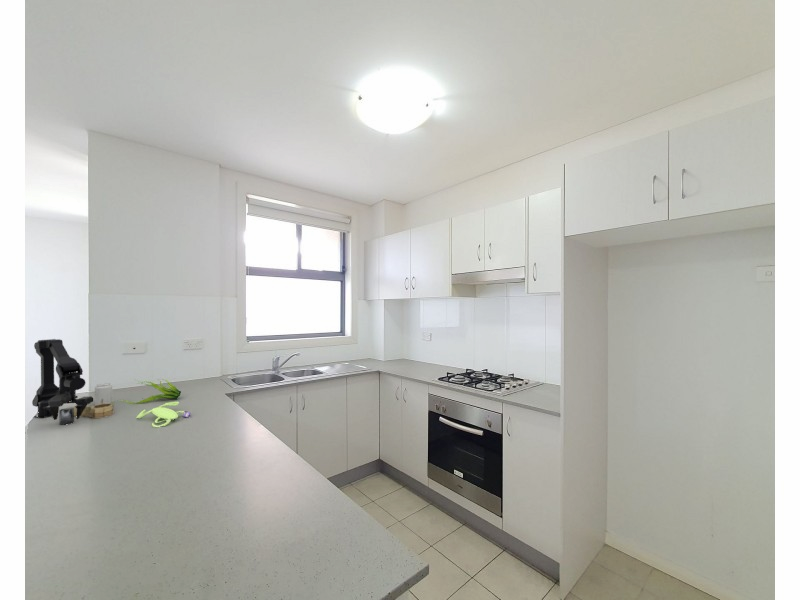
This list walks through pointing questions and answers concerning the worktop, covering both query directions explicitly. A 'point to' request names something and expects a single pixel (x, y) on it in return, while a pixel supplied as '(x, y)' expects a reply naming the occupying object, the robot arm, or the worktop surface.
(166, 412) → the figurine
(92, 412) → the hinge
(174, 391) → the decorative plant
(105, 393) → the can
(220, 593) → the worktop surface
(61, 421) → the hinge pin
